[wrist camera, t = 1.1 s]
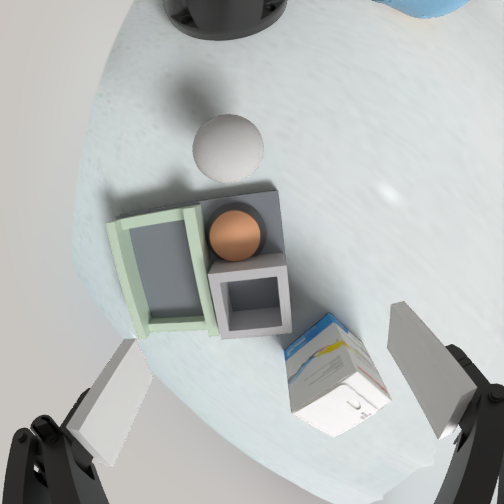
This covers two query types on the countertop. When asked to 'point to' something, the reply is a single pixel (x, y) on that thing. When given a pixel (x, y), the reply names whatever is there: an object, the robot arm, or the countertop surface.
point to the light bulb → (228, 148)
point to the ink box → (333, 378)
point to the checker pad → (235, 235)
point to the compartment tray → (202, 270)
